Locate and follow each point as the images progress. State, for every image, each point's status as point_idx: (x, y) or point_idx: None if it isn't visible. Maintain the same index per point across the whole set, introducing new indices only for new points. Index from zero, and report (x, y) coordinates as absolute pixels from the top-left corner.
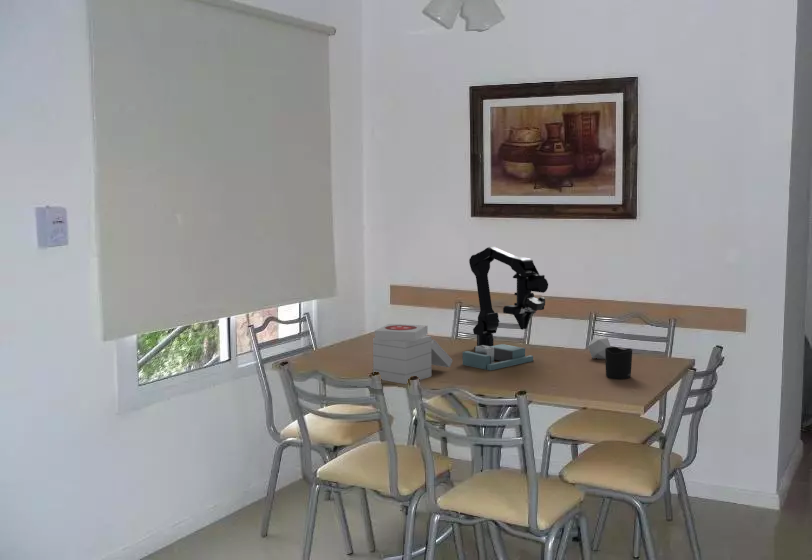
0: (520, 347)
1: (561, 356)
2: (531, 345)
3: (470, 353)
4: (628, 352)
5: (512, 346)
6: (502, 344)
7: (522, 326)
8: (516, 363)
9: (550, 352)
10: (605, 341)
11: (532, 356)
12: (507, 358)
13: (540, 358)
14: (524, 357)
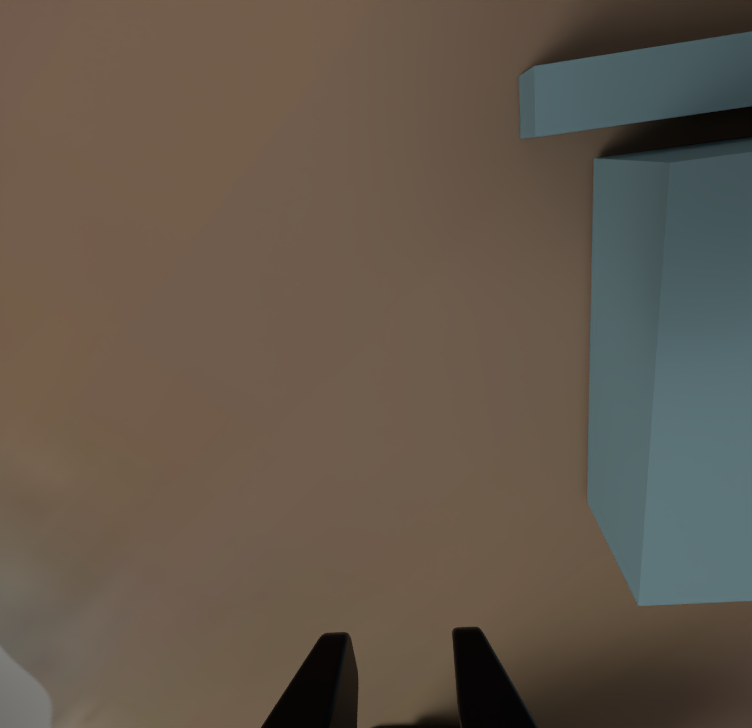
0: (674, 268)
1: (4, 76)
2: (24, 651)
3: None
4: None
5: (695, 408)
6: (665, 584)
7: (520, 706)
8: None
9: (15, 345)
10: None
11: (550, 65)
12: None
13: (321, 153)
14: (740, 52)
